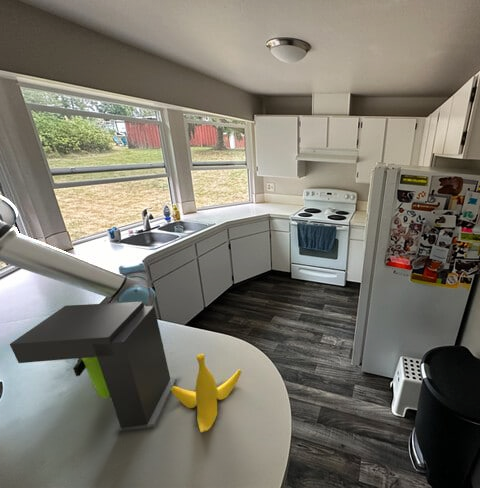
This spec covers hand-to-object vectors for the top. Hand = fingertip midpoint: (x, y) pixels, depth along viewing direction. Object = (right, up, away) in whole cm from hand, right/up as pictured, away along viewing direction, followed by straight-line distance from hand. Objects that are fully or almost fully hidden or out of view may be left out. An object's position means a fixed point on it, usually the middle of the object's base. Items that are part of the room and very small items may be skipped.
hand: (92, 369), depth 65 cm
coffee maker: (+5, -12, +4) cm, 14 cm away
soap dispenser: (-1, -9, +7) cm, 12 cm away
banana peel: (+28, -13, +4) cm, 31 cm away
